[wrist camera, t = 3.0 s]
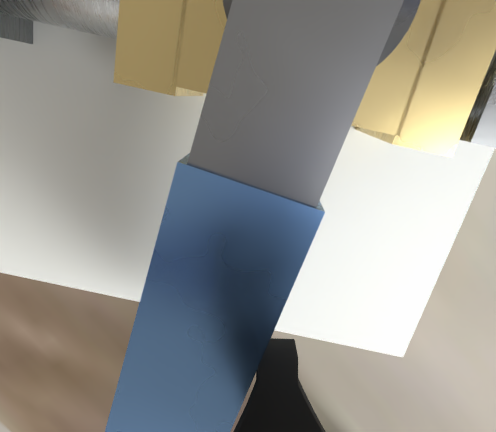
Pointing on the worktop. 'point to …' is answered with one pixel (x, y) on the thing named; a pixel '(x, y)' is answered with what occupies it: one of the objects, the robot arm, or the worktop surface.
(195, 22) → the valve
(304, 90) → the lever
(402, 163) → the board
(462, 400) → the worktop surface
